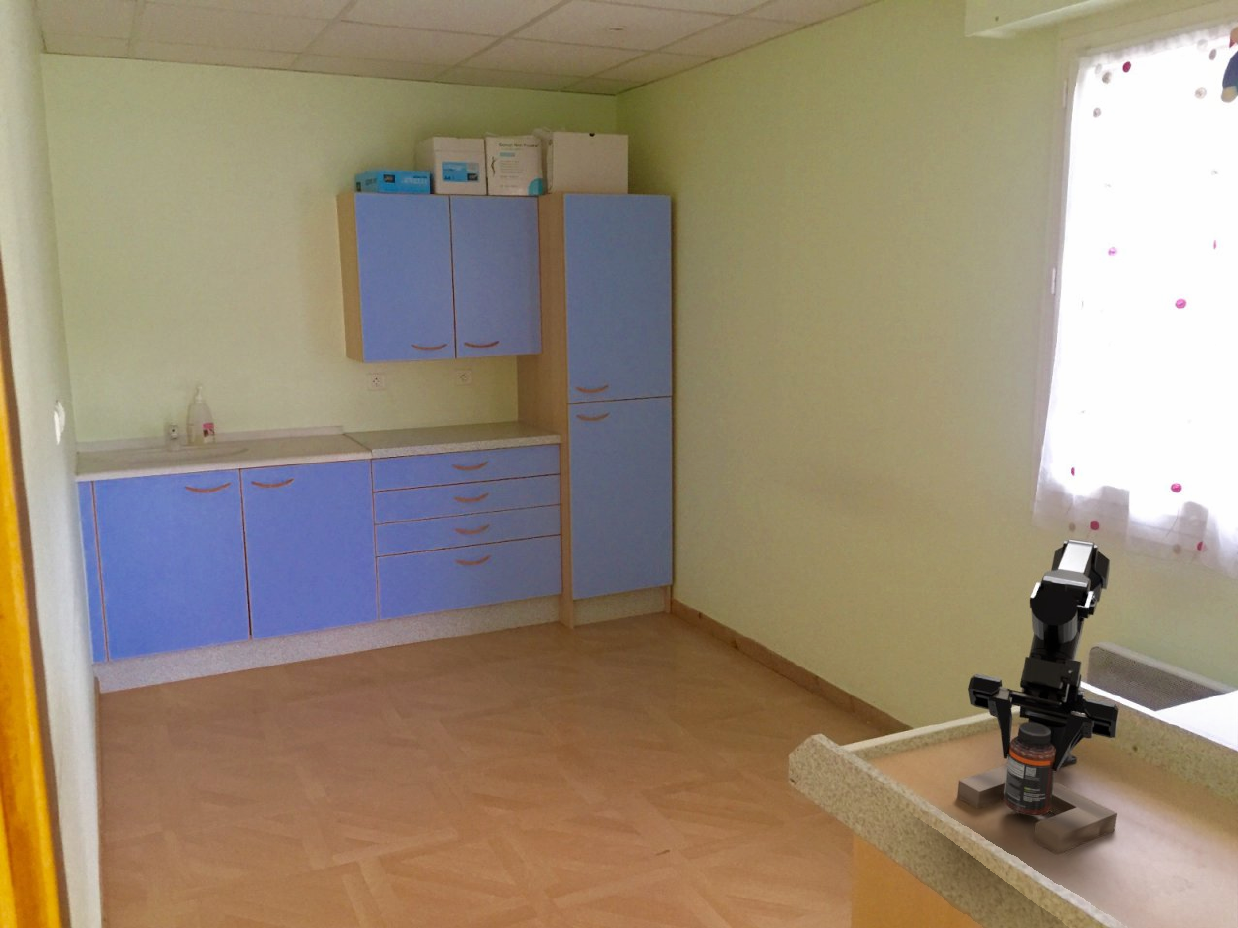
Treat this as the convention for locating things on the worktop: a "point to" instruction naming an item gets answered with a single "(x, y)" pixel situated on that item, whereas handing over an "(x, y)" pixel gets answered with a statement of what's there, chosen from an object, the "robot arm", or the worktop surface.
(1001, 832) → the worktop surface
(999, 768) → the notched board
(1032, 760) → the supplement bottle
